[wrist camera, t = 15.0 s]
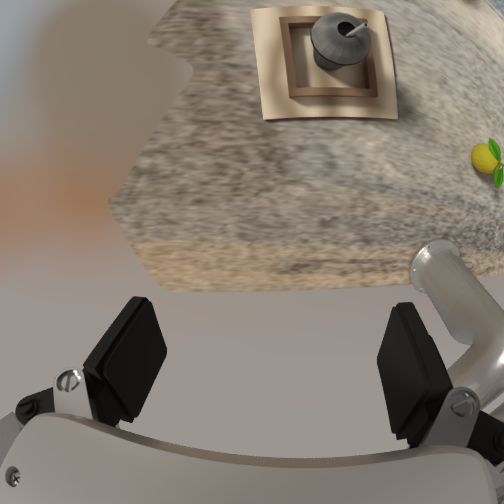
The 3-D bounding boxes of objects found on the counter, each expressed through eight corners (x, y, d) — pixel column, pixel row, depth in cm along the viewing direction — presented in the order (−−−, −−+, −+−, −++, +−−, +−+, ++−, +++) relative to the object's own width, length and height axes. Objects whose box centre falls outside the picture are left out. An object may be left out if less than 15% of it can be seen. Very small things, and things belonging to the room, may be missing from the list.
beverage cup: (327, 31, 32) (353, -25, 14) (359, 63, 33) (408, 28, 16) (294, 55, 34) (299, 8, 17) (327, 87, 36) (357, 63, 18)
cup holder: (381, 13, 29) (388, 6, 25) (395, 119, 37) (404, 119, 34) (251, 11, 32) (247, 3, 28) (263, 119, 41) (261, 119, 37)
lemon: (476, 178, 39) (506, 193, 30) (459, 160, 38) (489, 173, 29) (489, 151, 36) (520, 162, 27) (472, 133, 35) (504, 140, 26)
